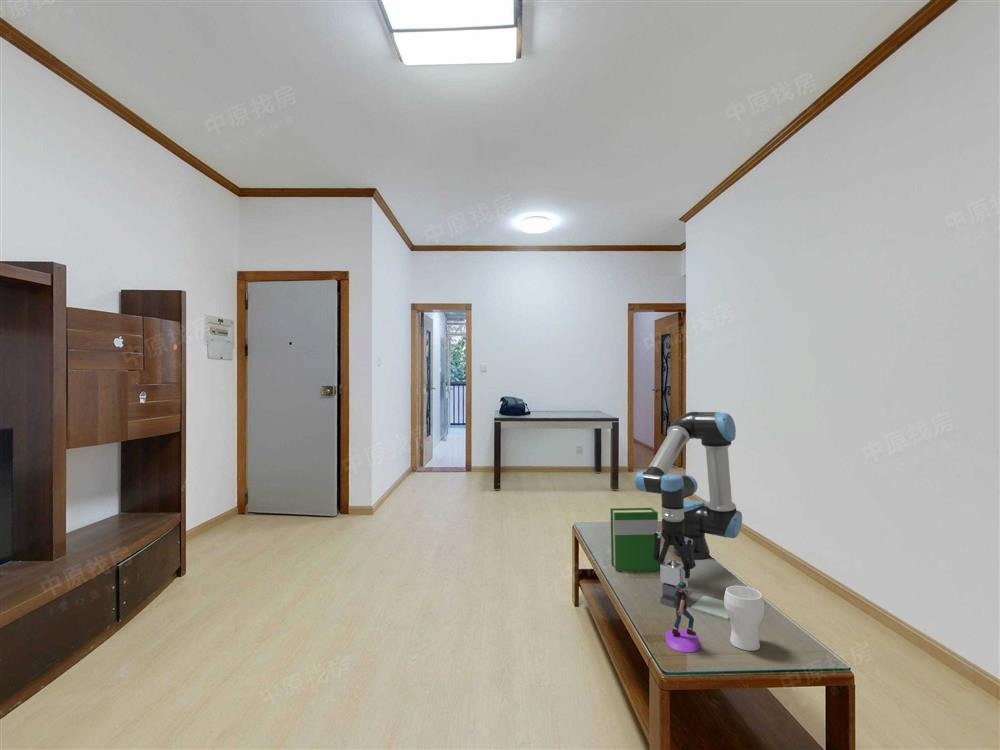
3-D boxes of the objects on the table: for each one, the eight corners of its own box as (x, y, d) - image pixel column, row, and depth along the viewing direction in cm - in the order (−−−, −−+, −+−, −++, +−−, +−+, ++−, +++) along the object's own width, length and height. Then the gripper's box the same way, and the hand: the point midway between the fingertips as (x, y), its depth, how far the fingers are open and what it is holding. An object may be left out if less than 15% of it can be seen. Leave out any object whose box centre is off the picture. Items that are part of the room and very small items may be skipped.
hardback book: (615, 571, 197) (614, 512, 197) (611, 565, 204) (610, 508, 205) (658, 571, 197) (657, 512, 197) (653, 564, 204) (651, 507, 205)
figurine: (706, 649, 139) (704, 586, 139) (677, 654, 137) (675, 589, 137) (687, 633, 148) (685, 574, 148) (659, 637, 146) (658, 577, 146)
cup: (717, 635, 146) (716, 585, 147) (751, 633, 147) (749, 584, 147) (738, 655, 136) (736, 601, 136) (773, 652, 137) (772, 599, 137)
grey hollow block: (669, 575, 176) (668, 559, 176) (688, 580, 171) (687, 563, 171) (660, 581, 171) (660, 564, 171) (679, 587, 166) (679, 569, 166)
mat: (704, 597, 173) (704, 595, 173) (740, 607, 164) (739, 605, 164) (690, 608, 164) (690, 606, 164) (727, 620, 156) (727, 618, 156)
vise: (678, 589, 180) (678, 552, 180) (692, 593, 176) (691, 555, 176) (660, 603, 168) (659, 564, 169) (674, 607, 165) (673, 567, 165)
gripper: (641, 516, 176) (643, 579, 175) (696, 526, 162) (698, 595, 162) (651, 512, 181) (652, 573, 181) (705, 521, 167) (707, 588, 167)
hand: (674, 583), depth 171 cm, fingers closed on grey hollow block, 7 cm apart
